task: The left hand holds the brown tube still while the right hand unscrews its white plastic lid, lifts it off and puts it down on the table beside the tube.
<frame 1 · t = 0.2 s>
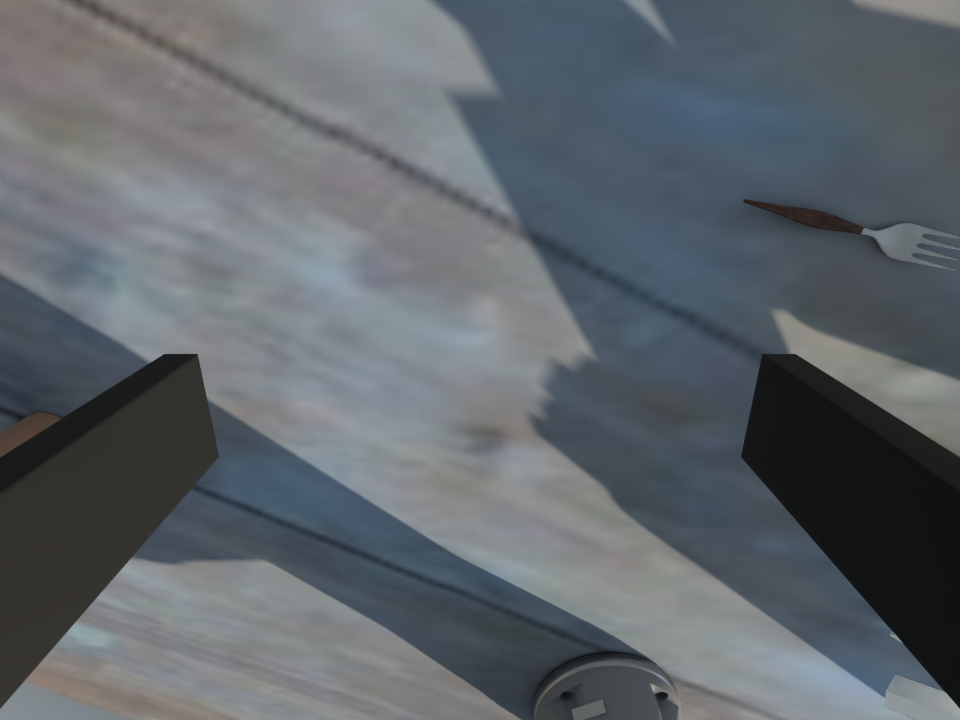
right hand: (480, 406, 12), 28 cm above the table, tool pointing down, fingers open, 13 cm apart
brown tube: (50, 437, 45), on the table
fork: (840, 225, 38), on the table
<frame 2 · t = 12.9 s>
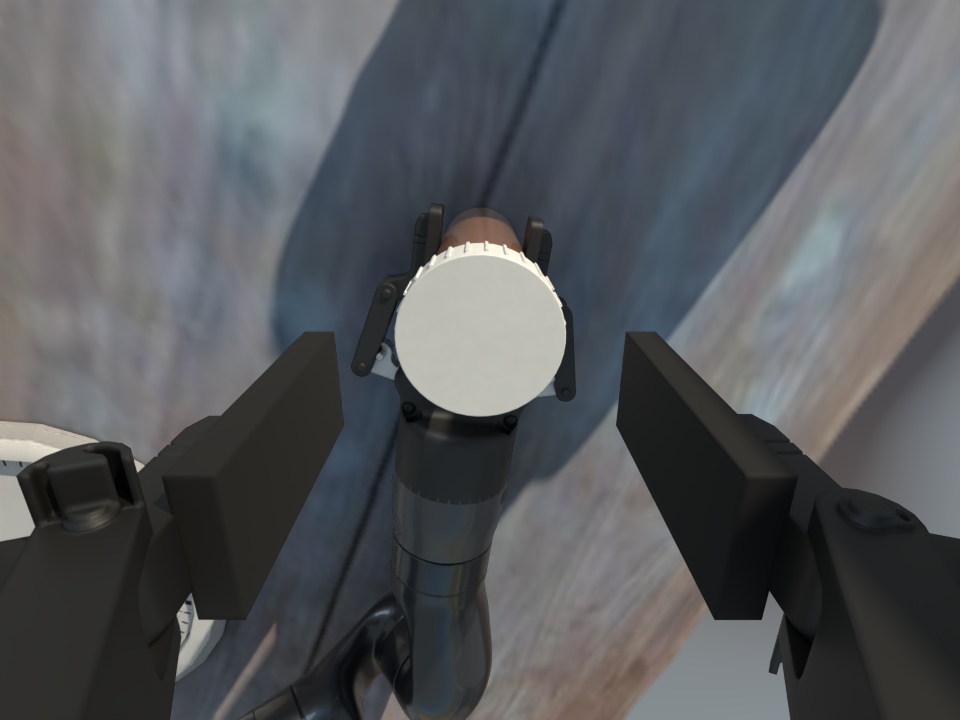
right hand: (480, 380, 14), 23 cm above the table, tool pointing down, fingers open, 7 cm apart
left hand: (487, 213, 29), fingers closed on brown tube, 5 cm apart
brown tube: (480, 244, 36), on the table, touching left hand
wall clock: (57, 572, 46), on the table
lid: (480, 336, 17), point 20 cm above the table, screwed on, not yet turned
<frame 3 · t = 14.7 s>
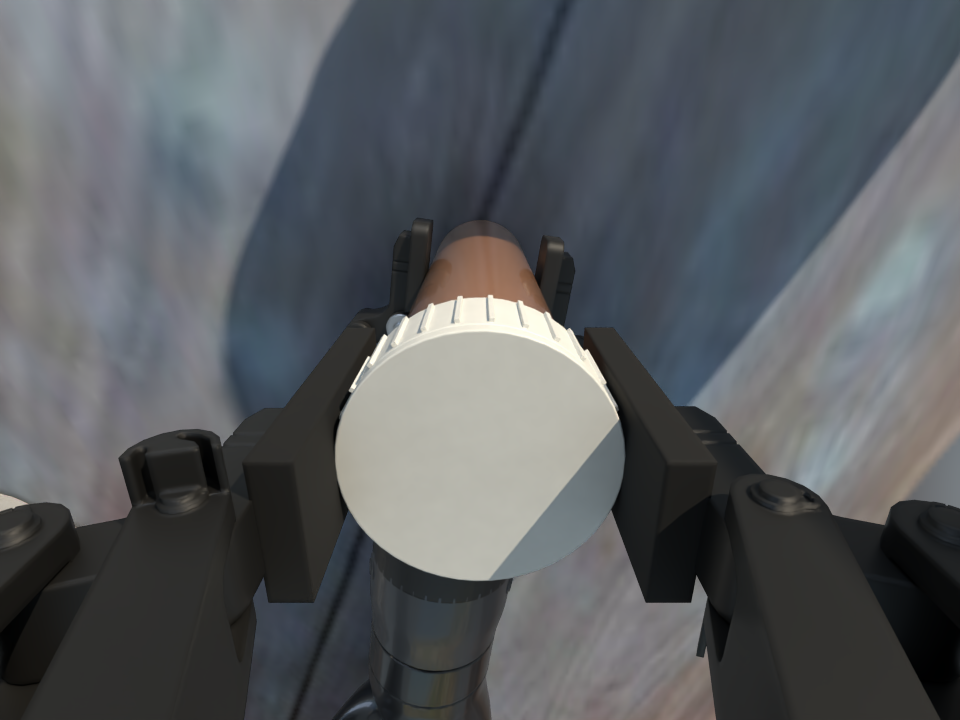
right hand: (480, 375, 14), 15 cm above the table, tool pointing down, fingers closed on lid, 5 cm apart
brown tube: (480, 265, 29), on the table, touching left hand
lid: (479, 458, 10), point 20 cm above the table, screwed on, not yet turned, touching right hand
when the right hand's fingers open (16 cm above the table, at t = 15.9 s): lid stays where it is, point 20 cm above the table.
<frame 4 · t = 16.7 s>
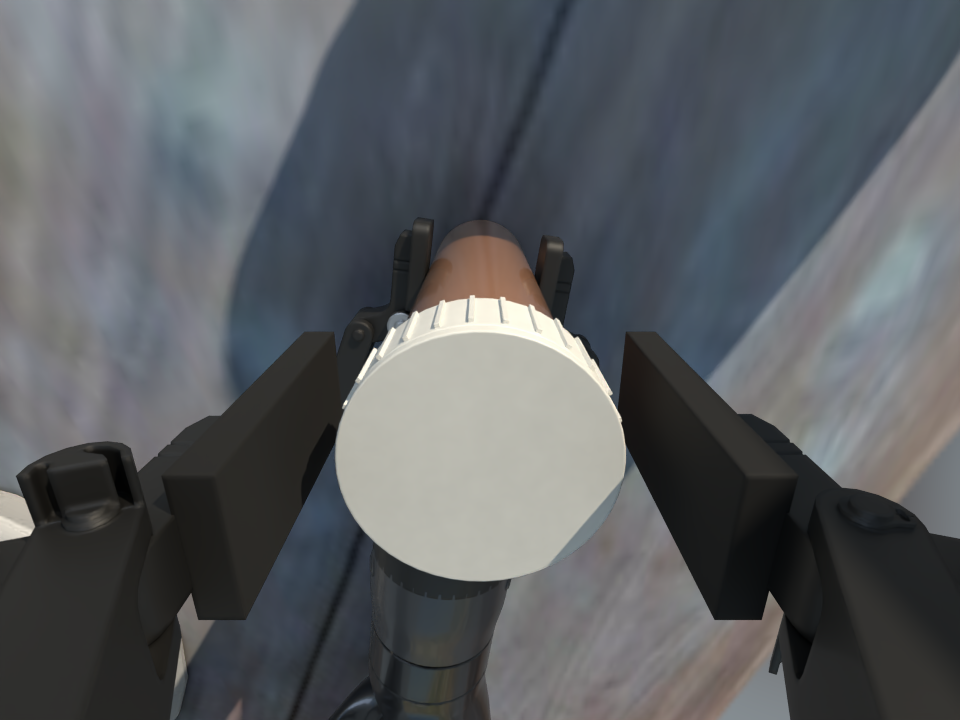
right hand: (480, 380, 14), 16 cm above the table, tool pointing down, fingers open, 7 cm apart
brown tube: (480, 265, 29), on the table, touching left hand
lid: (480, 459, 10), point 20 cm above the table, turned 72° so far, risen 0.2 cm, still on its thread
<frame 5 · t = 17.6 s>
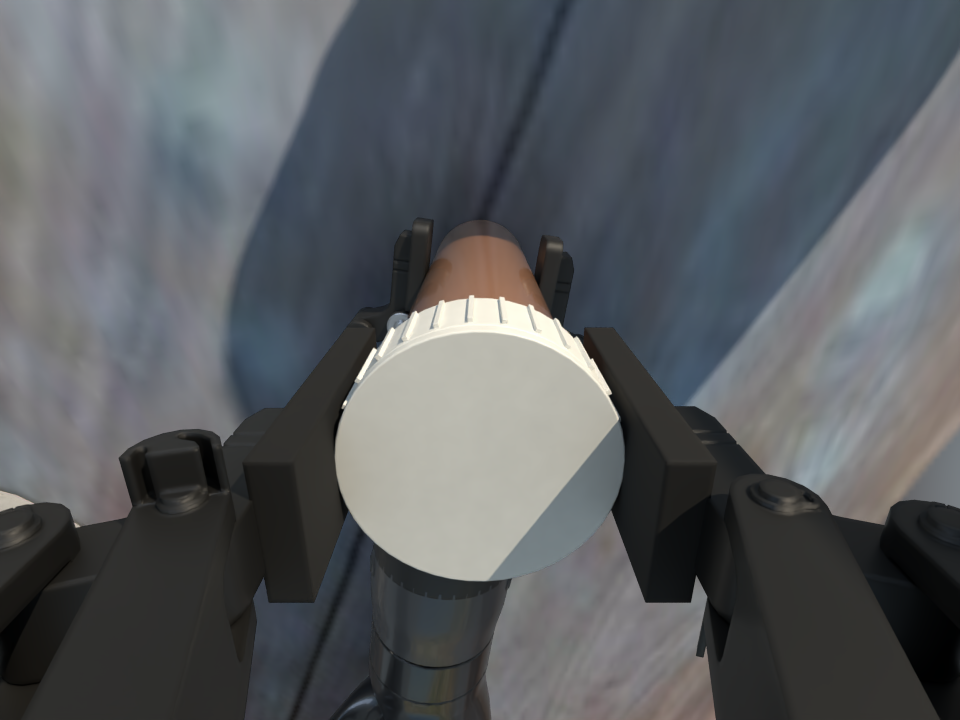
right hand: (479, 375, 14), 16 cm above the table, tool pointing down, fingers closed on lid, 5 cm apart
brown tube: (479, 265, 29), on the table, touching left hand
lid: (479, 459, 10), point 20 cm above the table, turned 72° so far, risen 0.2 cm, still on its thread, touching right hand
when the right hand's fingers open (0 cm above the table, at t = 25.1 s): lid stays where it is, point 2 cm above the table.
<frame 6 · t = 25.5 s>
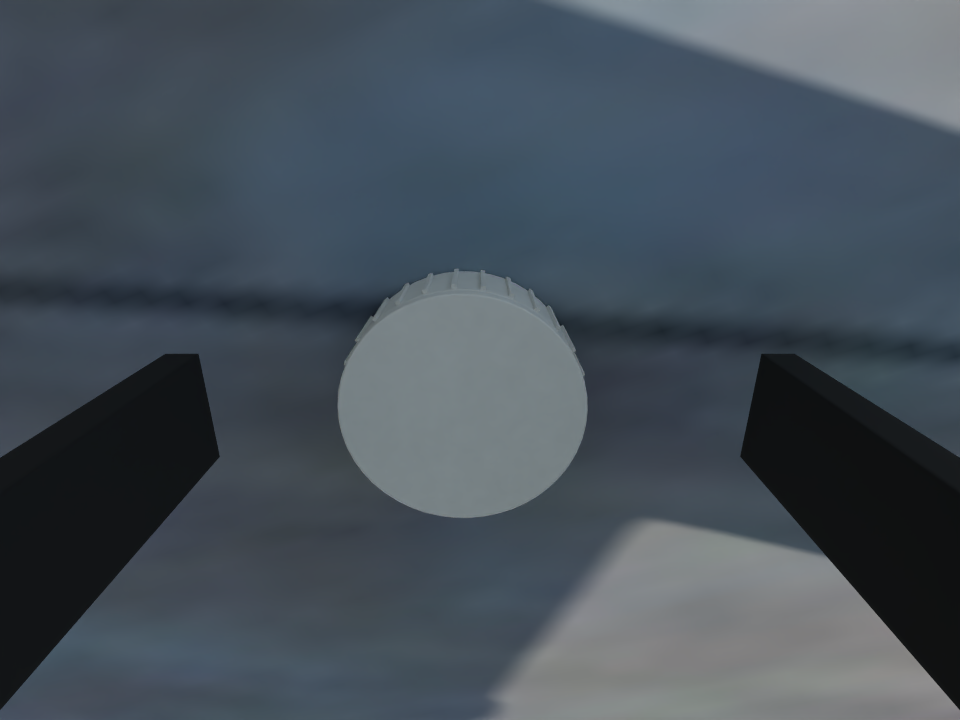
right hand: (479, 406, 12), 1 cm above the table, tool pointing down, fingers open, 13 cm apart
lid: (463, 408, 12), point 2 cm above the table, off its thread
when the left hand's fingers open (6 cm above the table, at t = 26.1 s): brown tube stays where it is, on the table.
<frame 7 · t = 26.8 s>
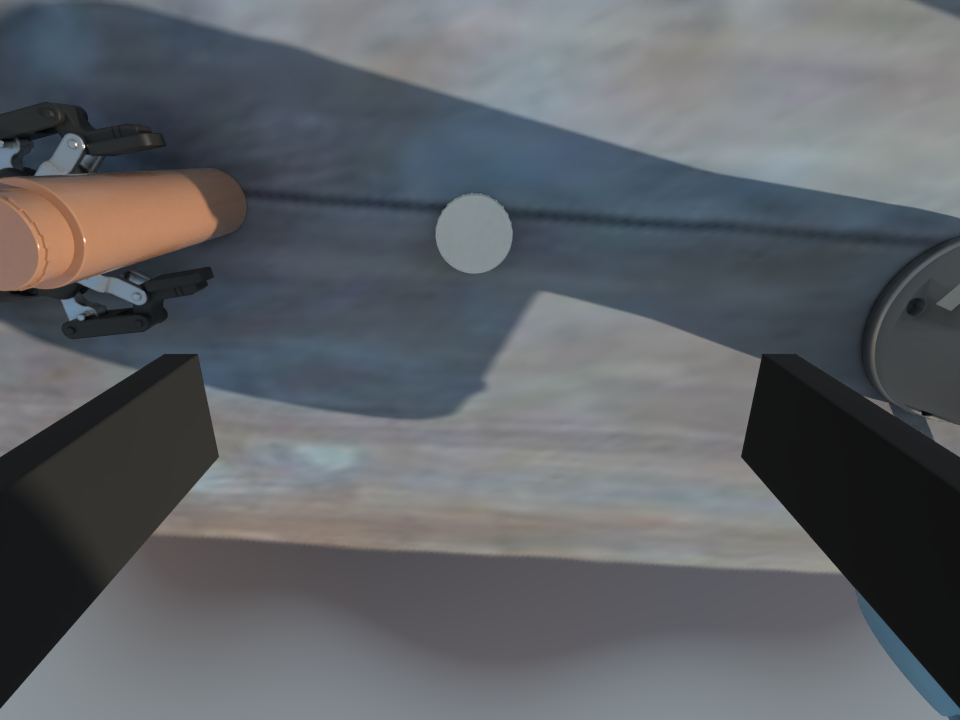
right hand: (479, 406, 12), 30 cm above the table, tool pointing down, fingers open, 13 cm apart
left hand: (183, 210, 34), fingers open, 8 cm apart
brown tube: (214, 202, 39), on the table
lid: (474, 234, 38), point 2 cm above the table, off its thread
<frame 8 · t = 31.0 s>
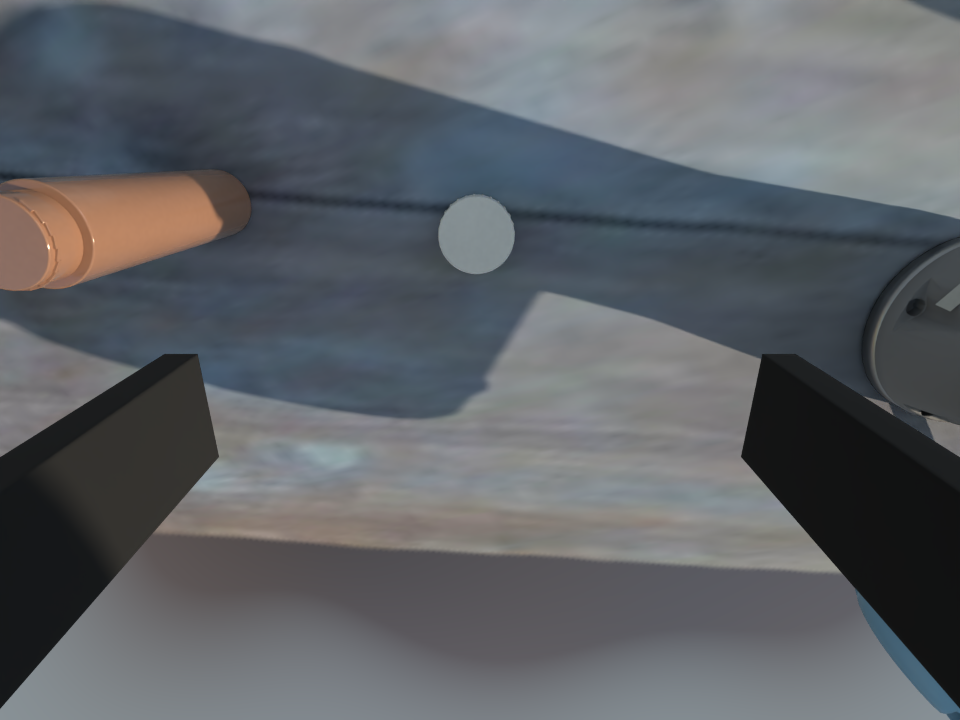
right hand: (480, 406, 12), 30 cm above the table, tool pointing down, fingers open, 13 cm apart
brown tube: (219, 203, 40), on the table
lid: (476, 235, 39), point 2 cm above the table, off its thread
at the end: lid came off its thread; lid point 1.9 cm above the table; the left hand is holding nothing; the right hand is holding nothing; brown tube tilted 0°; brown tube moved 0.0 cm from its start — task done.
